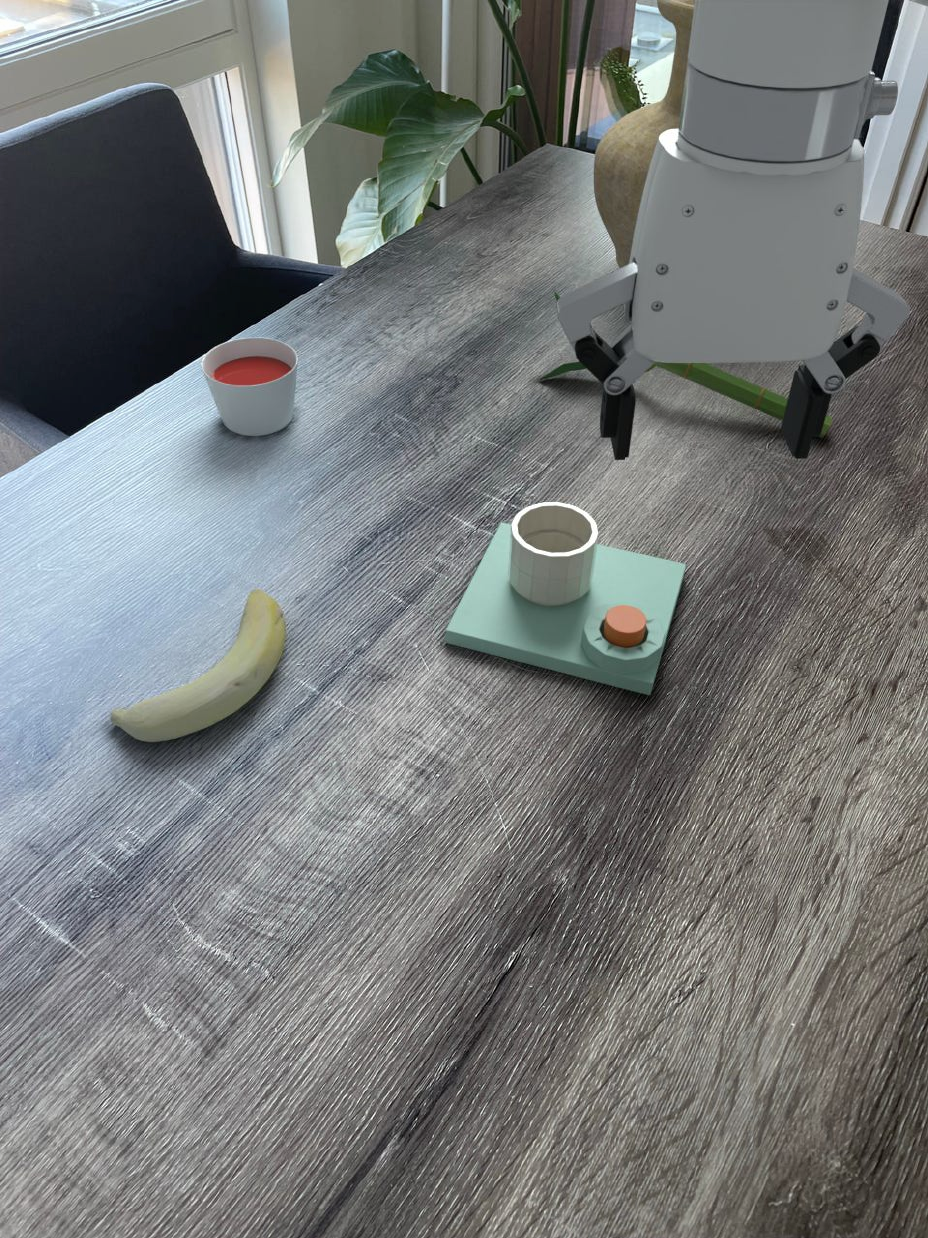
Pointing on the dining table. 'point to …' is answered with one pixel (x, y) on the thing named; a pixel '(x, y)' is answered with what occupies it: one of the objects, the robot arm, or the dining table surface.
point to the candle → (252, 384)
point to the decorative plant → (715, 385)
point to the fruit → (215, 680)
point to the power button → (624, 626)
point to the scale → (571, 617)
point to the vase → (639, 142)
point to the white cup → (552, 553)
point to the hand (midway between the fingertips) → (705, 445)
